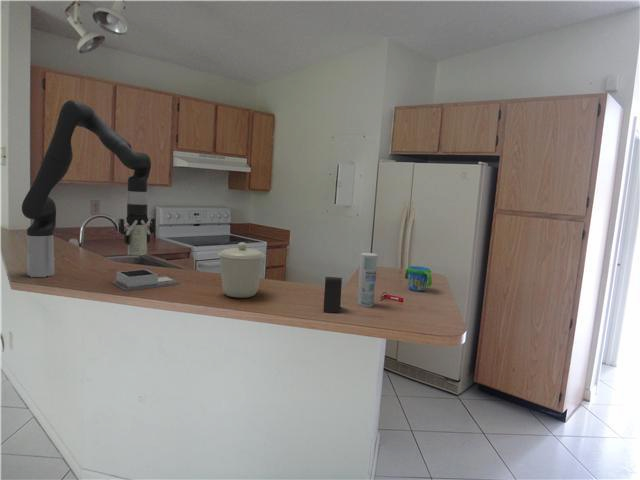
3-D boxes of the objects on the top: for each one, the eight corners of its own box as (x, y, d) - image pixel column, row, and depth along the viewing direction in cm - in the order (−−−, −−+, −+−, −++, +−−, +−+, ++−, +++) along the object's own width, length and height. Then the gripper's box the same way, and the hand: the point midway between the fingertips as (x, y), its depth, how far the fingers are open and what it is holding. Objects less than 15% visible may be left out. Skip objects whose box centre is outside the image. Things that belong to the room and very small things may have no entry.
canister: (223, 302, 157) (225, 246, 154) (212, 290, 173) (213, 239, 170) (269, 299, 165) (272, 245, 162) (254, 287, 181) (256, 238, 178)
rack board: (126, 291, 164) (126, 278, 163) (112, 283, 174) (112, 271, 173) (179, 284, 179) (179, 272, 179) (164, 277, 189) (164, 266, 188)
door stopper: (323, 305, 162) (325, 274, 160) (339, 306, 162) (341, 275, 160) (323, 312, 153) (325, 279, 151) (339, 313, 153) (342, 280, 151)
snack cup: (437, 293, 191) (439, 271, 190) (417, 294, 187) (419, 272, 185) (416, 285, 205) (418, 264, 204) (397, 286, 201) (399, 265, 200)
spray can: (362, 307, 162) (366, 255, 159) (354, 302, 168) (357, 252, 165) (376, 306, 165) (380, 255, 162) (368, 301, 171) (372, 252, 168)
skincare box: (147, 254, 174) (147, 224, 172) (142, 255, 170) (142, 225, 168) (132, 253, 174) (132, 223, 173) (126, 254, 170) (126, 224, 169)
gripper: (151, 202, 177) (150, 241, 179) (115, 201, 167) (115, 243, 169) (159, 203, 172) (158, 244, 174) (122, 203, 162) (122, 246, 164)
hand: (137, 243), depth 171 cm, fingers closed on skincare box, 7 cm apart
